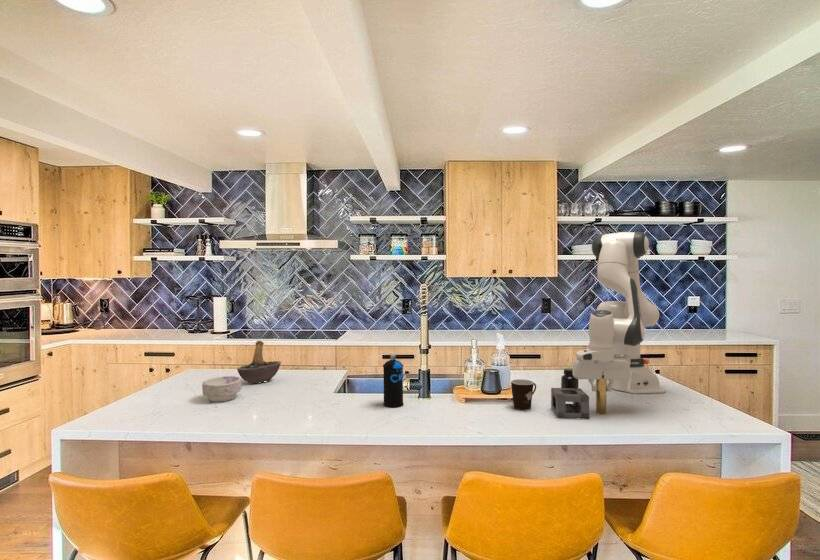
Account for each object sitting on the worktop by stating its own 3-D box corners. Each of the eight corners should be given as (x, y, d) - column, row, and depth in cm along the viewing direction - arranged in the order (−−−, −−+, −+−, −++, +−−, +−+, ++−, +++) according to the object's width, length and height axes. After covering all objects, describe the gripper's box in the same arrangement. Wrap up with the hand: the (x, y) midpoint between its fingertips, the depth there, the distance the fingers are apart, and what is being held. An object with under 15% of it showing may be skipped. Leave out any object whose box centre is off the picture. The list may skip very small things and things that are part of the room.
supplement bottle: (579, 401, 181) (579, 371, 181) (562, 400, 183) (562, 371, 183) (576, 396, 188) (577, 368, 188) (560, 395, 190) (560, 367, 189)
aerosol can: (378, 404, 178) (378, 355, 177) (393, 400, 184) (393, 352, 183) (393, 409, 172) (393, 357, 172) (407, 404, 178) (407, 354, 178)
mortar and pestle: (282, 379, 221) (282, 338, 220) (264, 387, 204) (263, 344, 204) (255, 377, 224) (255, 337, 223) (235, 386, 208) (234, 343, 207)
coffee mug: (516, 411, 168) (516, 385, 168) (507, 404, 177) (507, 379, 177) (544, 410, 170) (544, 384, 170) (535, 403, 179) (535, 378, 179)
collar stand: (580, 409, 171) (580, 388, 171) (589, 418, 160) (589, 396, 160) (551, 408, 172) (551, 387, 172) (557, 417, 161) (557, 395, 161)
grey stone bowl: (194, 402, 182) (193, 383, 182) (219, 392, 197) (219, 374, 197) (225, 405, 178) (225, 385, 178) (249, 395, 193) (248, 376, 193)
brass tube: (604, 411, 168) (604, 369, 168) (607, 414, 165) (608, 371, 164) (594, 410, 169) (594, 368, 168) (597, 414, 165) (597, 371, 165)
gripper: (627, 353, 168) (627, 389, 169) (571, 352, 170) (571, 388, 171) (633, 356, 162) (633, 394, 162) (575, 355, 164) (575, 392, 165)
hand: (601, 391), depth 167 cm, fingers closed on brass tube, 4 cm apart
